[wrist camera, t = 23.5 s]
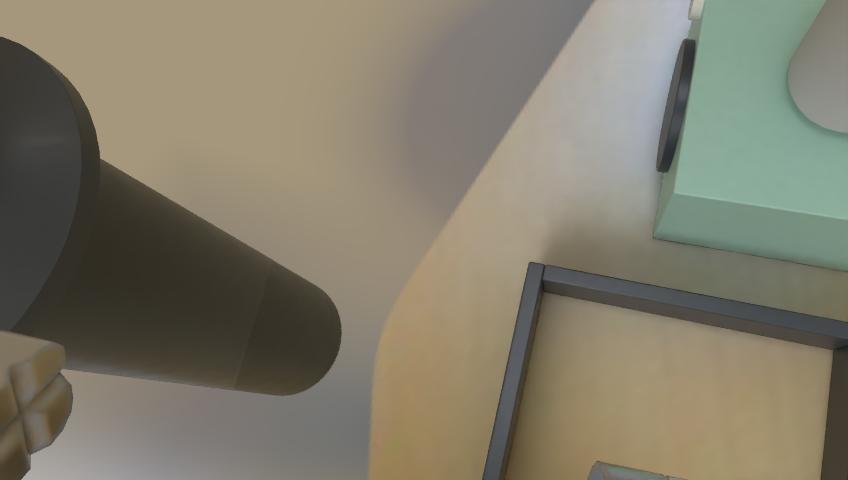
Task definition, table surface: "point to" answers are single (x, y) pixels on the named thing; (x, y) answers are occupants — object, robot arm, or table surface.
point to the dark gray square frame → (844, 440)
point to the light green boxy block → (749, 141)
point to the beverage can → (823, 69)
